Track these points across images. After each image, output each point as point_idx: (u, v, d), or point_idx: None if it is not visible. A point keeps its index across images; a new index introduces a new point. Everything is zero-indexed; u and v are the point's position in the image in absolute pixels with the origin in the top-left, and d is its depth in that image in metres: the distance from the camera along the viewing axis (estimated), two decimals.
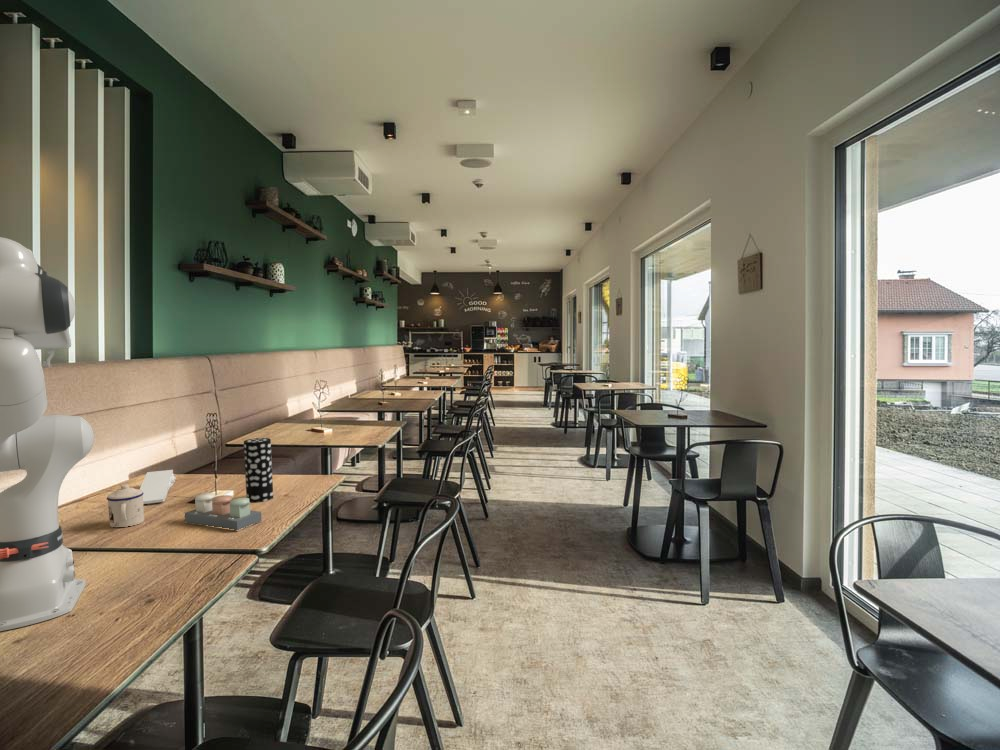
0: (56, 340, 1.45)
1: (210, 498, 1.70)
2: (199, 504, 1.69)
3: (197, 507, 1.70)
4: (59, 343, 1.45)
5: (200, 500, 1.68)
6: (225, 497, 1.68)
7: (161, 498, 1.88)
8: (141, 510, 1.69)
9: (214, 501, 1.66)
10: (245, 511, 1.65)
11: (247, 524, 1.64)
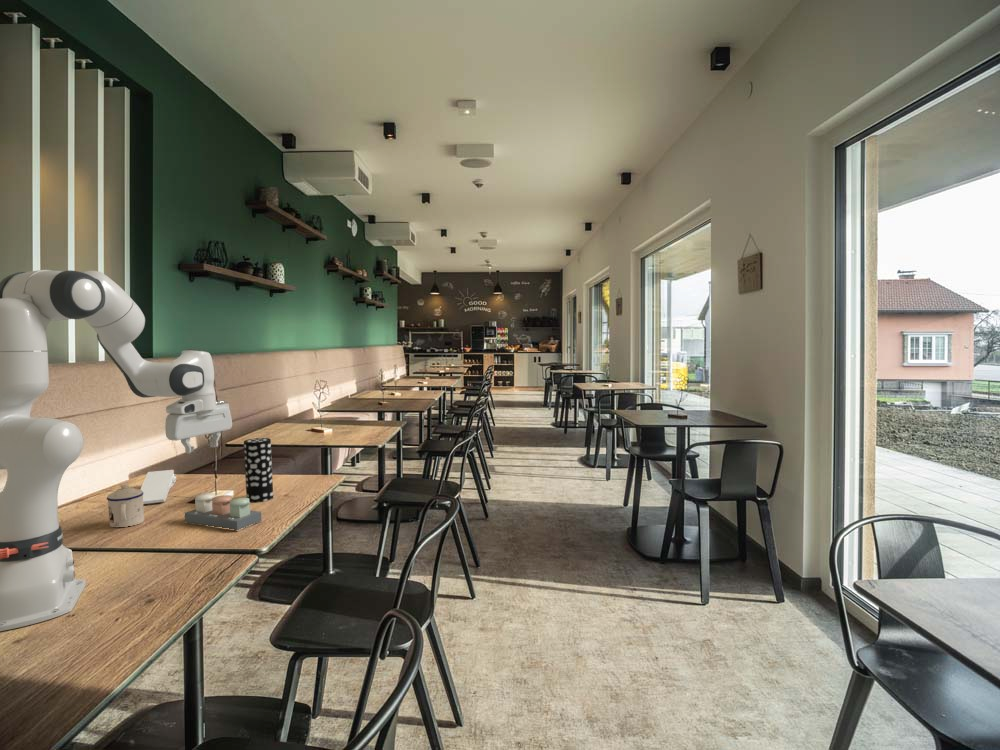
0: None
1: (210, 498, 1.70)
2: (199, 504, 1.69)
3: (197, 507, 1.70)
4: None
5: (200, 500, 1.68)
6: (225, 497, 1.68)
7: (162, 498, 1.88)
8: (141, 510, 1.69)
9: (214, 501, 1.66)
10: (245, 511, 1.65)
11: (247, 524, 1.64)
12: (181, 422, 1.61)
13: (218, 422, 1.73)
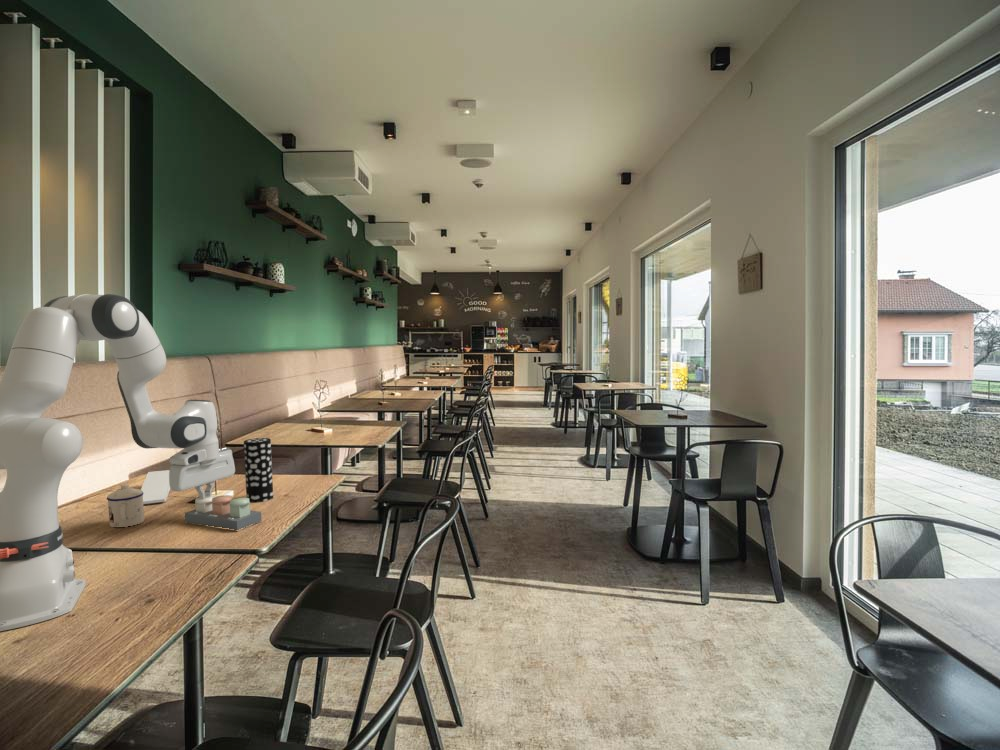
0: None
1: (210, 501, 1.70)
2: (199, 507, 1.69)
3: (197, 509, 1.70)
4: None
5: (200, 503, 1.68)
6: (225, 497, 1.68)
7: (163, 498, 1.88)
8: (141, 510, 1.69)
9: (214, 501, 1.66)
10: (245, 511, 1.65)
11: (247, 524, 1.64)
12: (185, 473, 1.62)
13: (221, 470, 1.74)
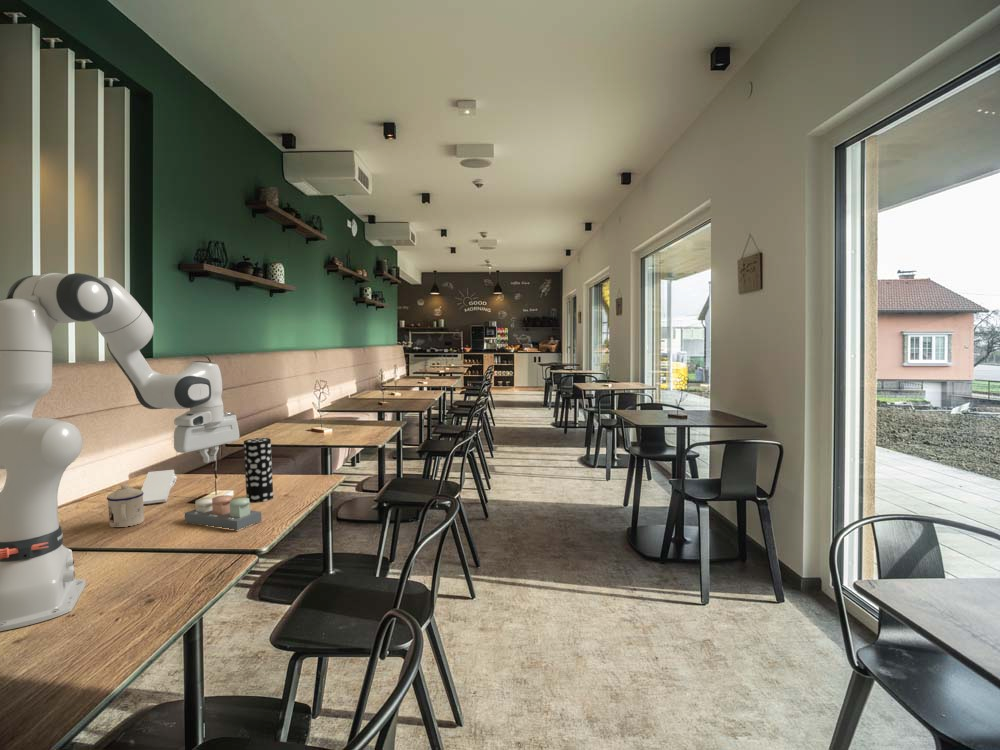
0: None
1: (210, 503, 1.70)
2: (199, 509, 1.69)
3: (198, 511, 1.70)
4: None
5: (200, 505, 1.68)
6: (225, 497, 1.68)
7: (163, 498, 1.88)
8: (141, 510, 1.69)
9: (214, 501, 1.66)
10: (245, 511, 1.65)
11: (247, 524, 1.64)
12: (190, 434, 1.60)
13: (226, 434, 1.72)
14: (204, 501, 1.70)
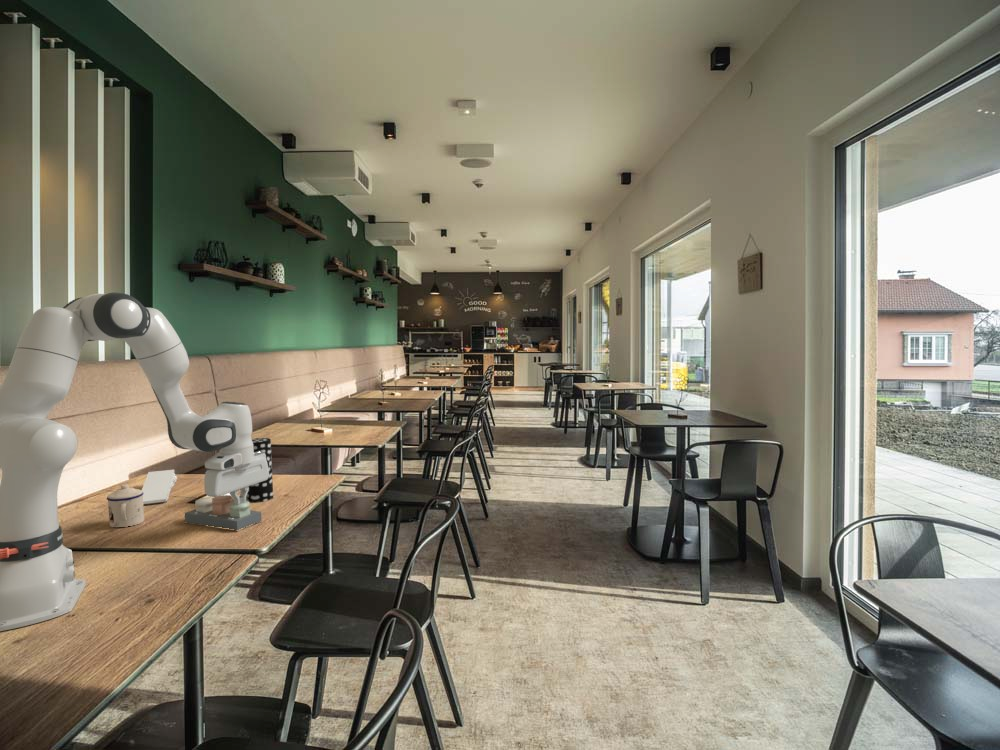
0: None
1: (210, 503, 1.70)
2: (199, 509, 1.69)
3: (198, 511, 1.70)
4: None
5: (200, 505, 1.68)
6: (225, 497, 1.68)
7: (164, 498, 1.88)
8: (141, 510, 1.69)
9: (214, 501, 1.66)
10: (246, 514, 1.65)
11: (247, 524, 1.64)
12: (220, 478, 1.57)
13: (256, 474, 1.69)
14: (204, 501, 1.70)
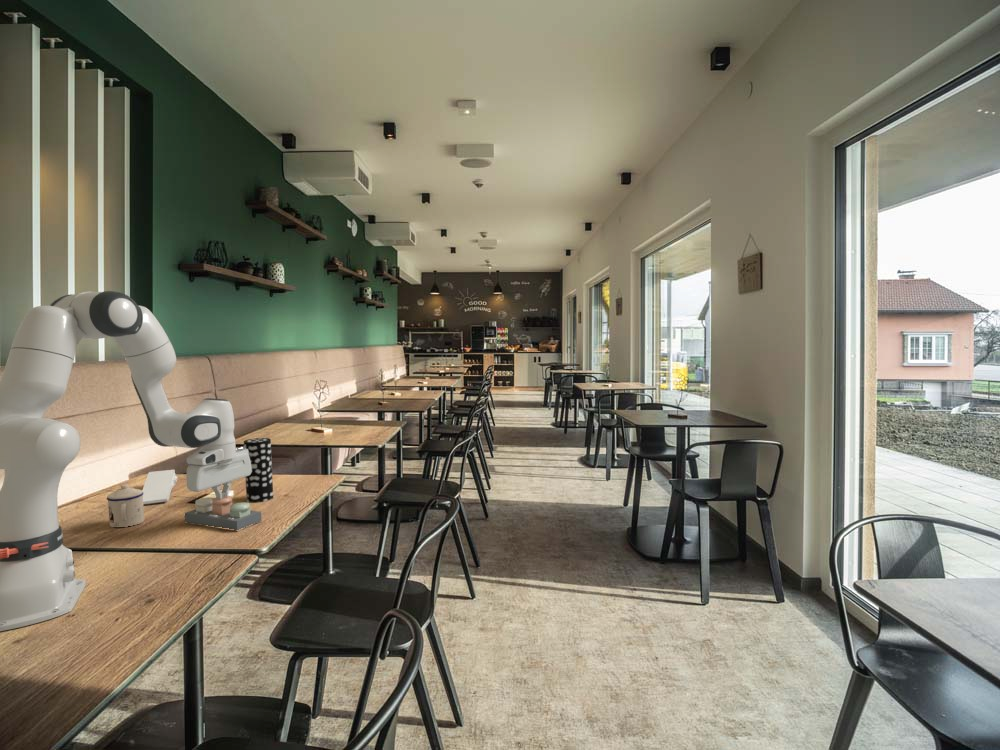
0: None
1: (210, 503, 1.70)
2: (199, 509, 1.69)
3: (198, 511, 1.70)
4: None
5: (200, 505, 1.68)
6: (225, 498, 1.68)
7: (165, 498, 1.89)
8: (141, 510, 1.69)
9: (214, 502, 1.66)
10: (246, 515, 1.65)
11: (247, 524, 1.64)
12: (202, 473, 1.60)
13: (238, 470, 1.71)
14: (204, 501, 1.70)
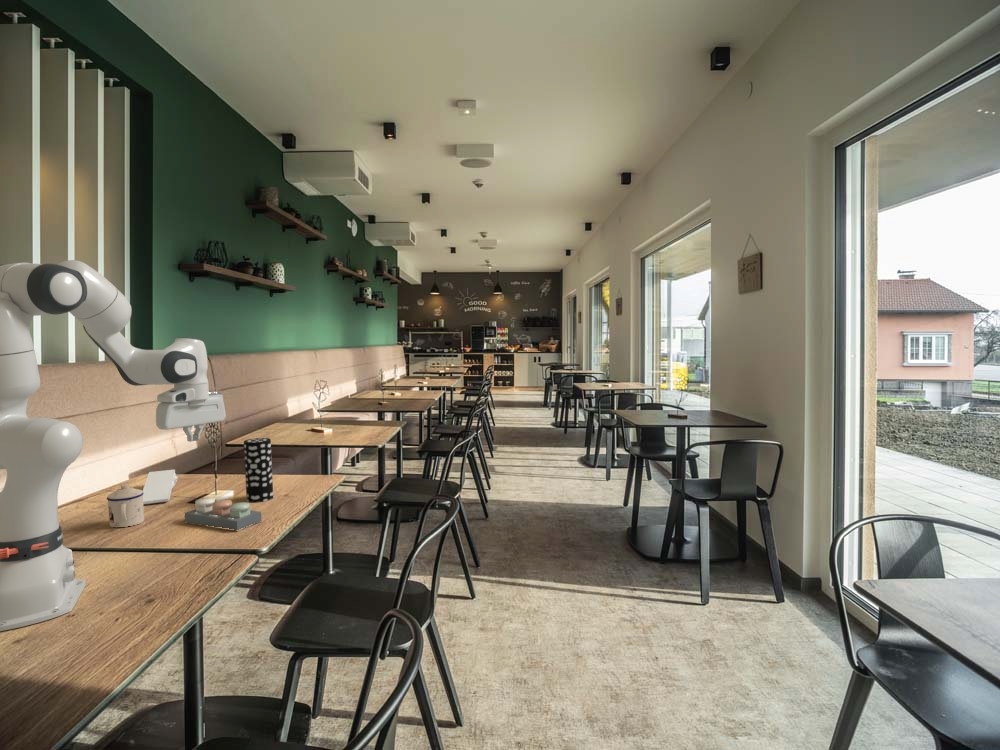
0: None
1: (210, 503, 1.70)
2: (199, 509, 1.69)
3: (198, 511, 1.70)
4: None
5: (200, 505, 1.68)
6: (225, 502, 1.69)
7: (166, 497, 1.89)
8: (141, 510, 1.69)
9: (214, 506, 1.66)
10: (246, 515, 1.65)
11: (247, 524, 1.64)
12: (172, 411, 1.57)
13: (211, 413, 1.69)
14: (204, 501, 1.70)
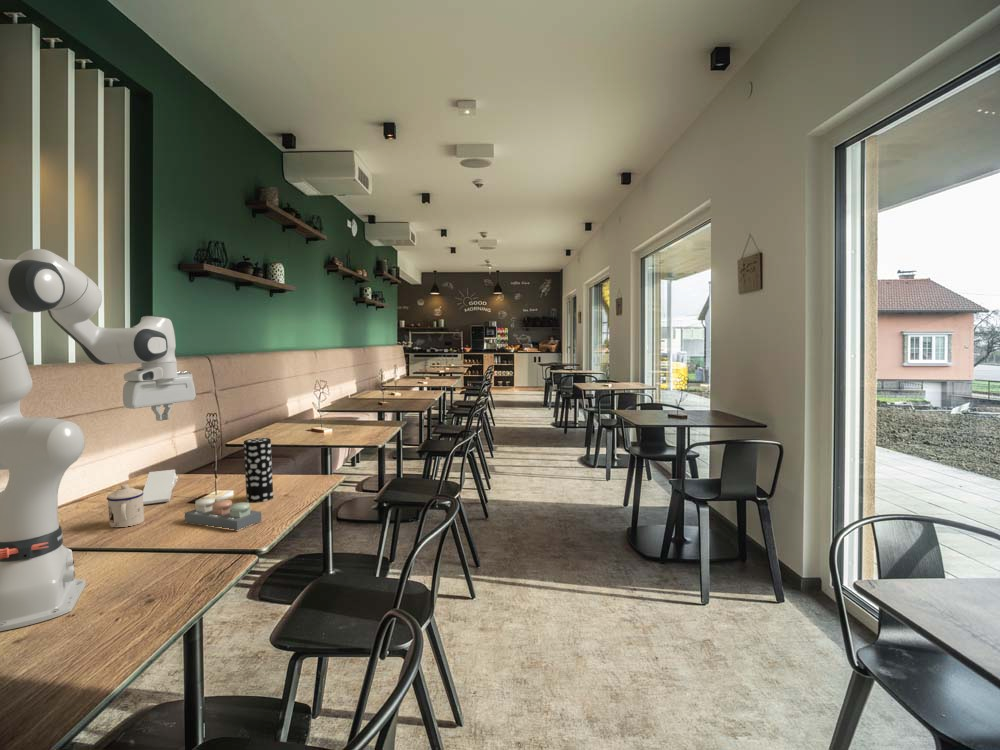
0: None
1: (210, 503, 1.70)
2: (199, 509, 1.69)
3: (198, 511, 1.70)
4: None
5: (200, 505, 1.68)
6: (225, 502, 1.69)
7: (167, 497, 1.89)
8: (141, 510, 1.69)
9: (214, 506, 1.66)
10: (246, 515, 1.65)
11: (247, 524, 1.64)
12: (139, 390, 1.56)
13: (180, 392, 1.68)
14: (204, 501, 1.70)
